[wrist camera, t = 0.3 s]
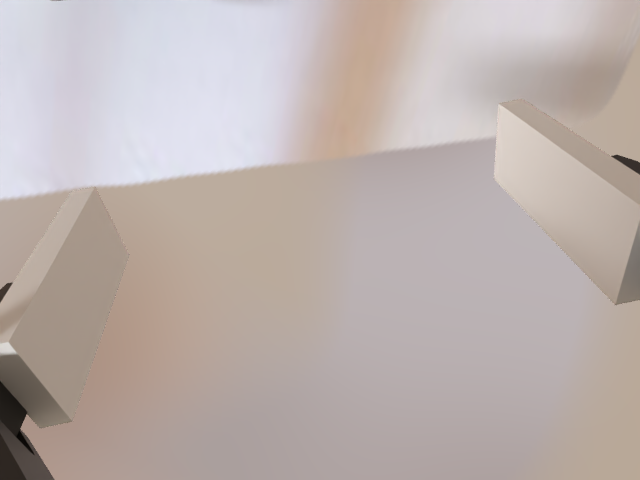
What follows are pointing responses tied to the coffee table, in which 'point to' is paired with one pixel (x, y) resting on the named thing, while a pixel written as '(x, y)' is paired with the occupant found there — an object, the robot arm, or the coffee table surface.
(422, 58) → the coffee table surface
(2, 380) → the robot arm
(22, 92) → the coffee table surface
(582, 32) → the coffee table surface
